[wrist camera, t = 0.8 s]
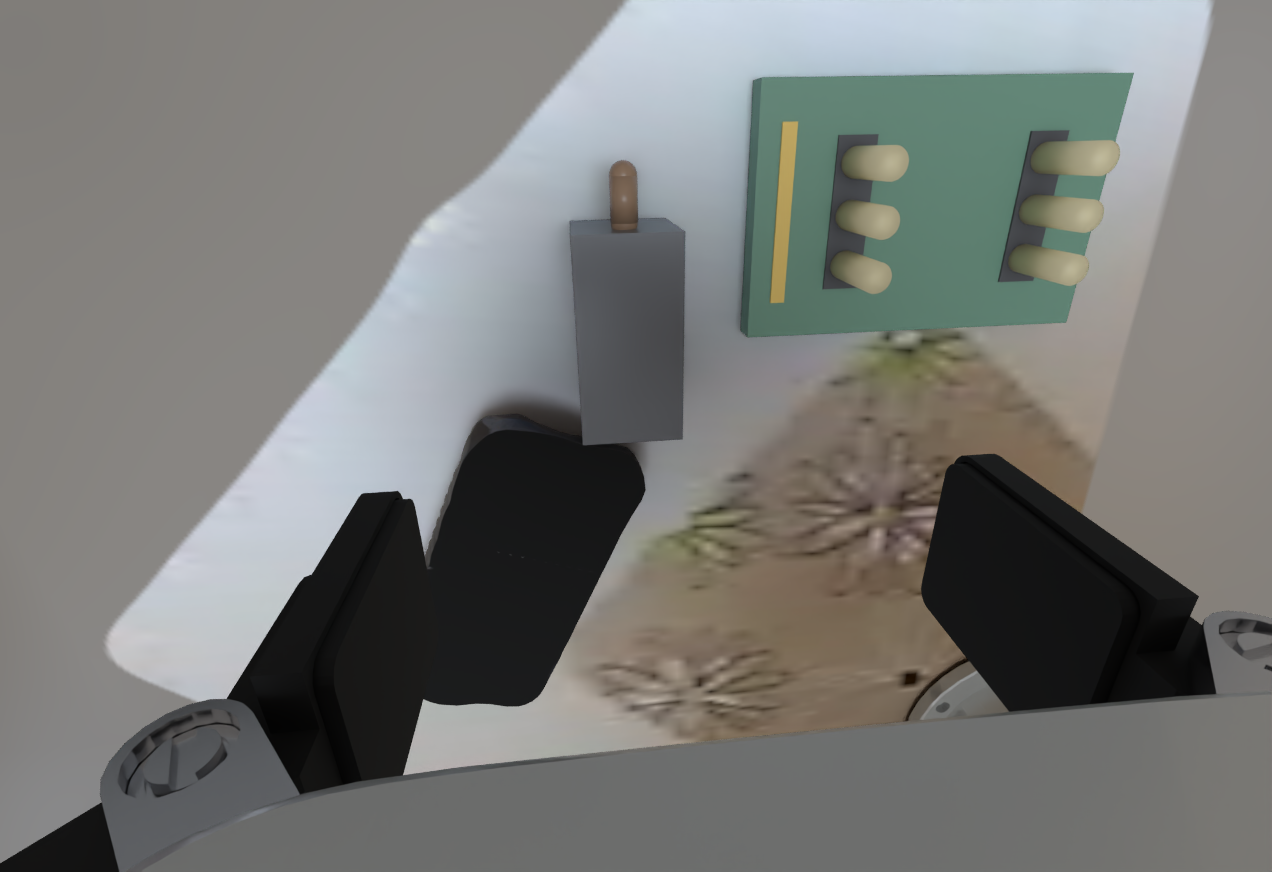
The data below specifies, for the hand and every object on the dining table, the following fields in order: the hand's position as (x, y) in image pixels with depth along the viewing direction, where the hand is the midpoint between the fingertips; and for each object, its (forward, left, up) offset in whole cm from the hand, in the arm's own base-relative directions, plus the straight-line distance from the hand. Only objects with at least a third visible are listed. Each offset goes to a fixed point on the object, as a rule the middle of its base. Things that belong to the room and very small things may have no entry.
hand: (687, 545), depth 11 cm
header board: (+4, -13, -18) cm, 23 cm away
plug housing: (+1, 0, -18) cm, 18 cm away
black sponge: (-12, +6, -19) cm, 23 cm away
